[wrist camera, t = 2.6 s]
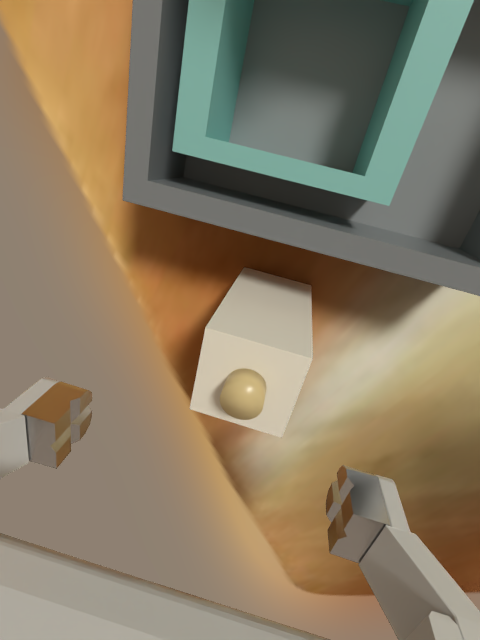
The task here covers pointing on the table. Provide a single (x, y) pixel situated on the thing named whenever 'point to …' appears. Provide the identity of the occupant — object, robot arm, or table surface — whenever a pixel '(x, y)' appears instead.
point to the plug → (256, 352)
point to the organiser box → (315, 137)
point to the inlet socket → (386, 122)
